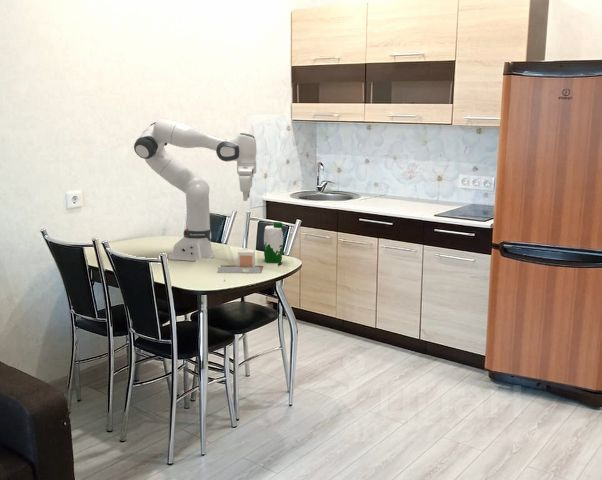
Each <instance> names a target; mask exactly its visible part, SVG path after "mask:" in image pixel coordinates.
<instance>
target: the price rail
mask: <svg viewBox="0 0 602 480" xmlns="http://www.w3.org/2000/svg"><path fill="white" fill-rule="evenodd" d="M217 271H218V273H217V274H261V273H260V267H220V266H217Z"/></svg>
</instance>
